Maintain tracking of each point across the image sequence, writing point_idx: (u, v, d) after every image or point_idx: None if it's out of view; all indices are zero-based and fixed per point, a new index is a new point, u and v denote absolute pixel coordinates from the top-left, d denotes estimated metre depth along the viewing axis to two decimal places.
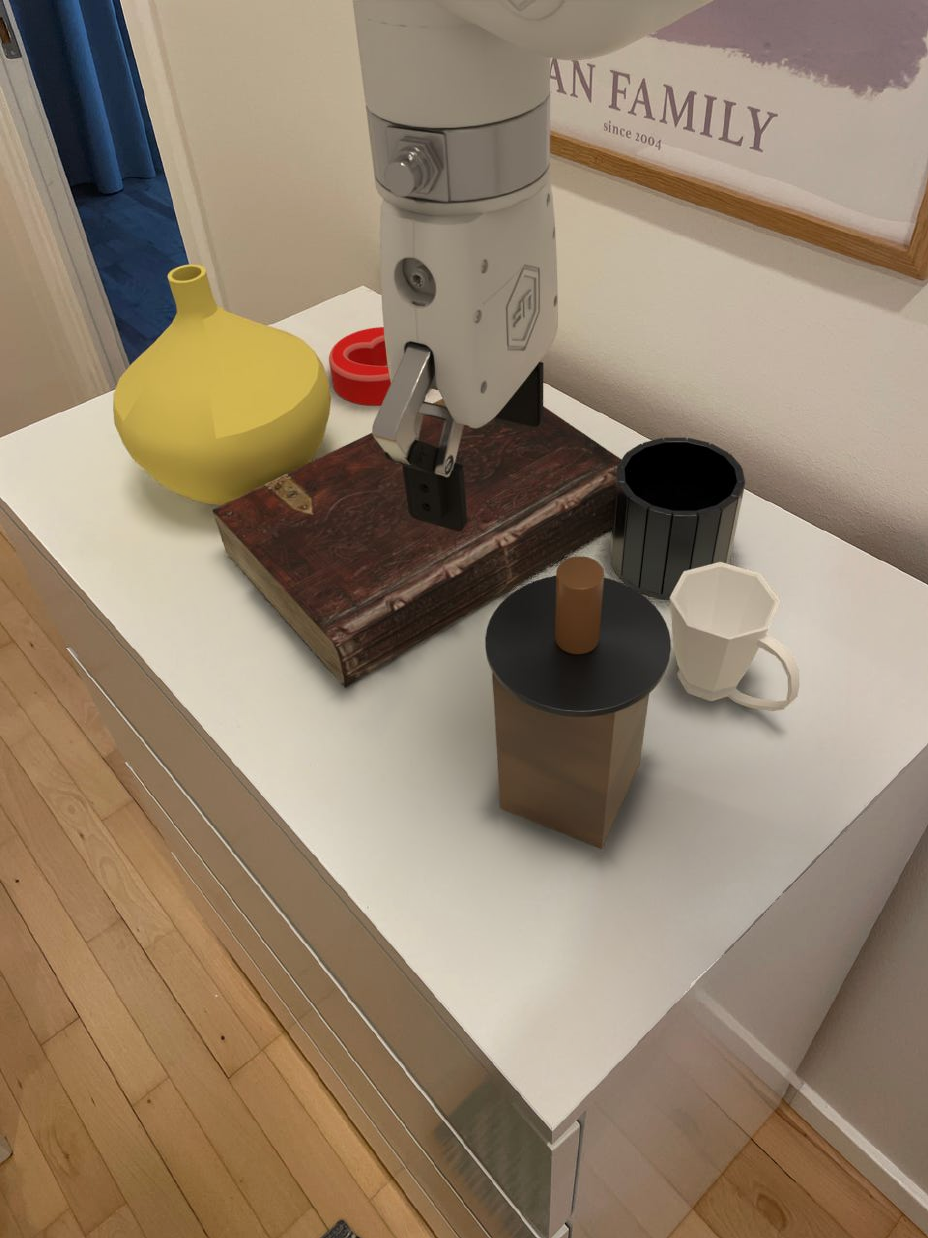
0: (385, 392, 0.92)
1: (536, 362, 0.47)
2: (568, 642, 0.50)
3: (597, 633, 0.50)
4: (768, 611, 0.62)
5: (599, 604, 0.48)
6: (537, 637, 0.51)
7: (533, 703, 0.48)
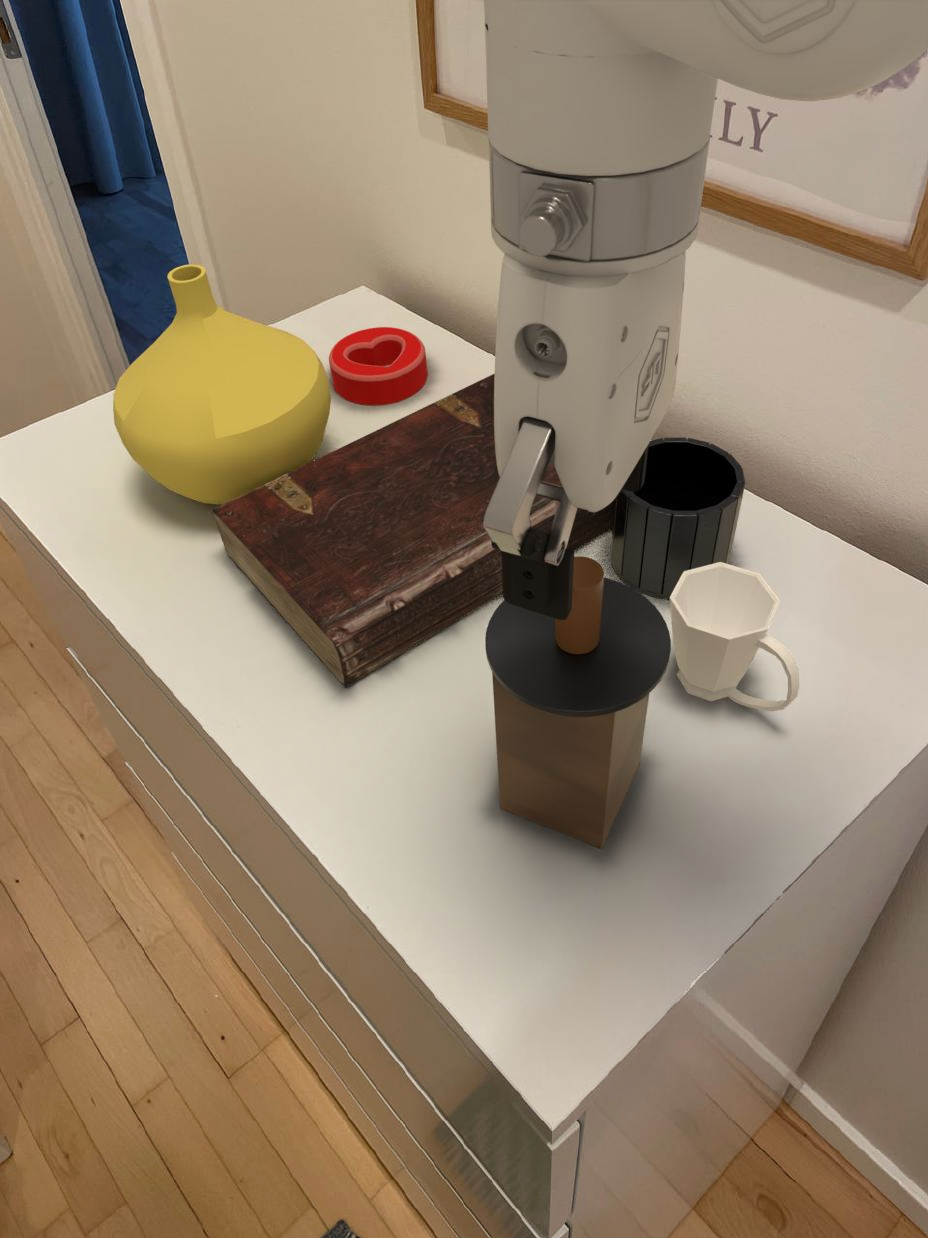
0: (385, 392, 0.92)
1: (654, 430, 0.41)
2: (568, 642, 0.50)
3: (597, 633, 0.50)
4: (768, 611, 0.62)
5: (599, 604, 0.48)
6: (537, 637, 0.51)
7: (533, 703, 0.48)
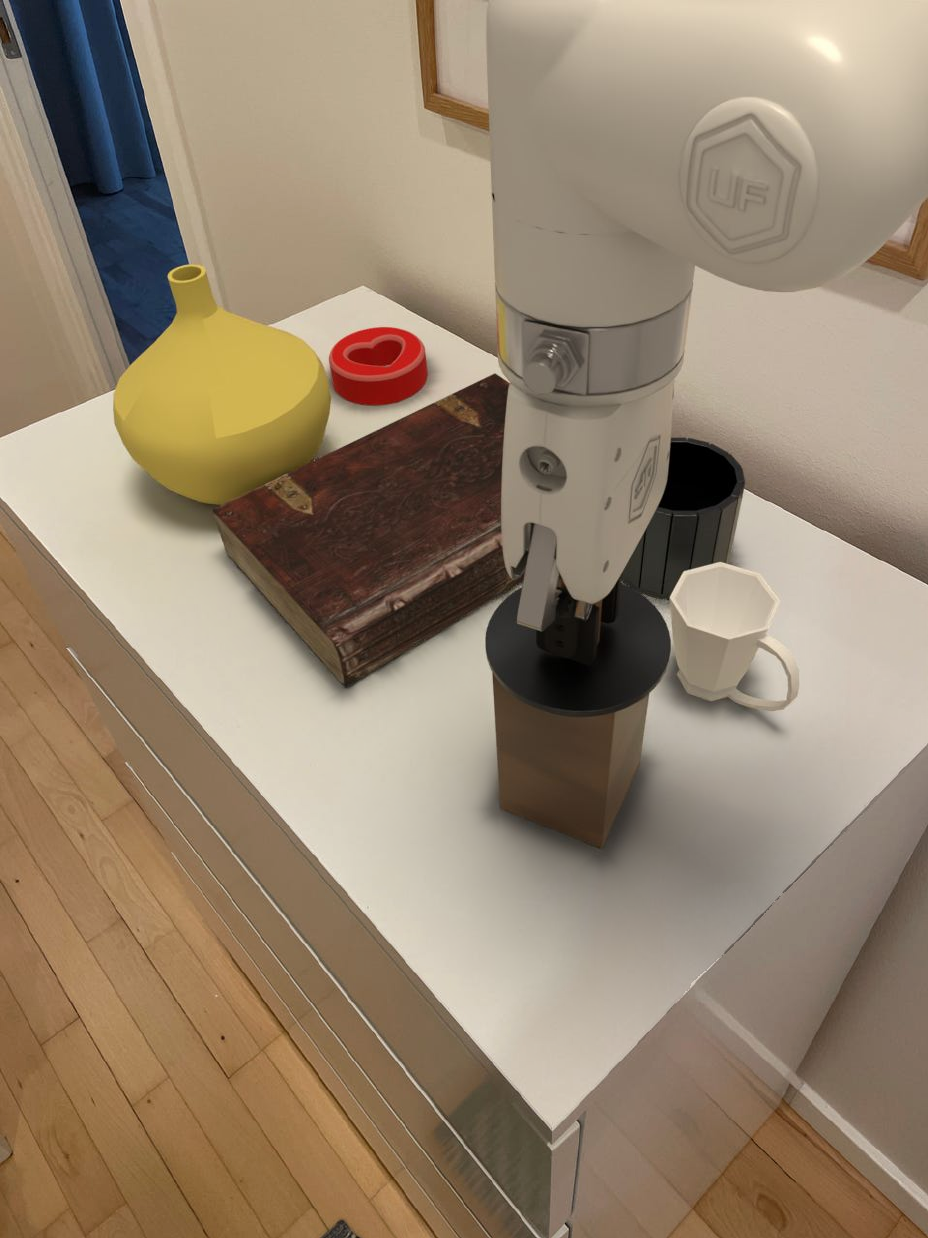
0: (385, 392, 0.92)
1: (648, 521, 0.45)
2: None
3: None
4: (768, 611, 0.62)
5: (599, 604, 0.48)
6: None
7: (533, 703, 0.48)
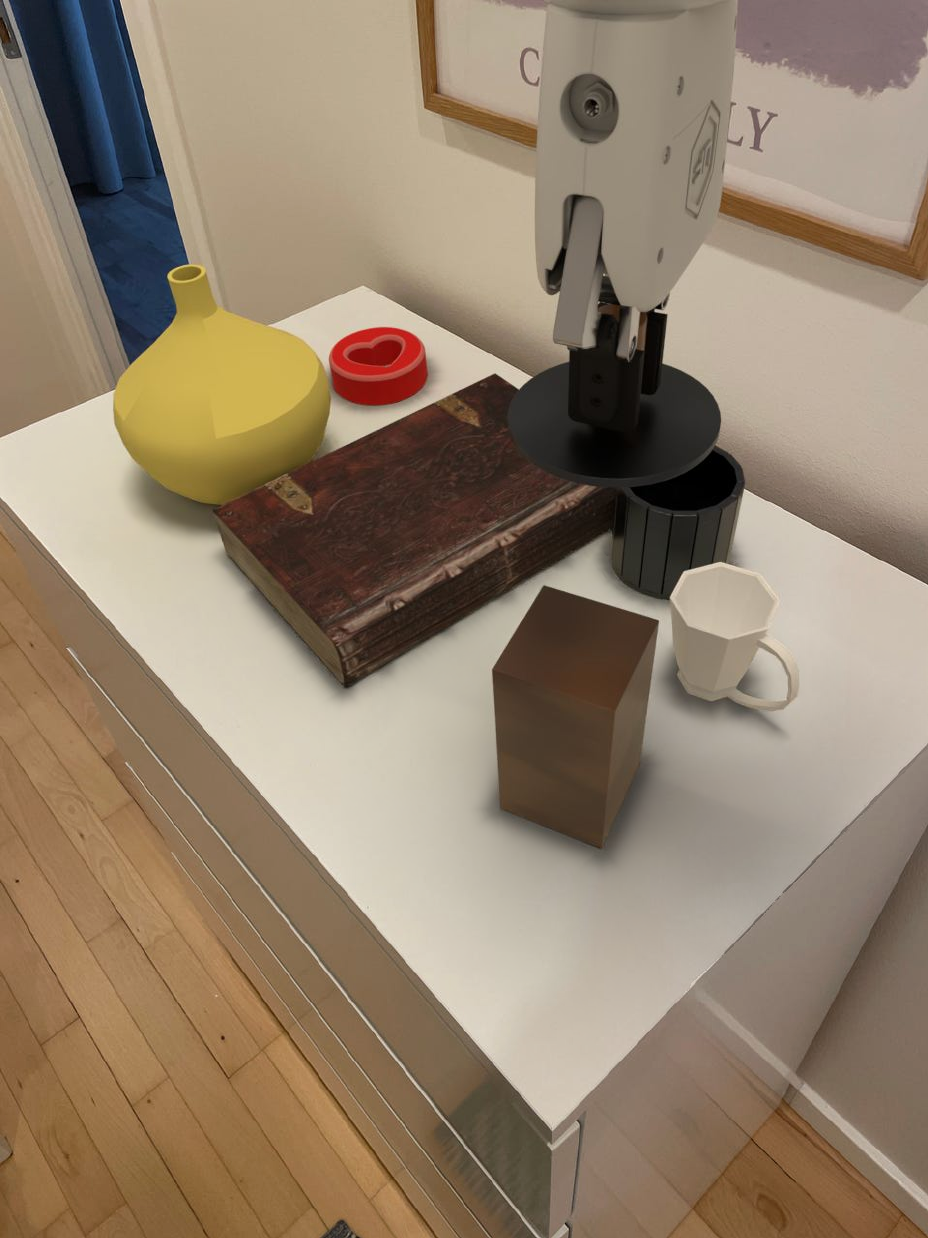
0: (385, 392, 0.92)
1: (701, 240, 0.39)
2: None
3: None
4: (768, 611, 0.62)
5: None
6: (567, 413, 0.45)
7: (566, 474, 0.42)
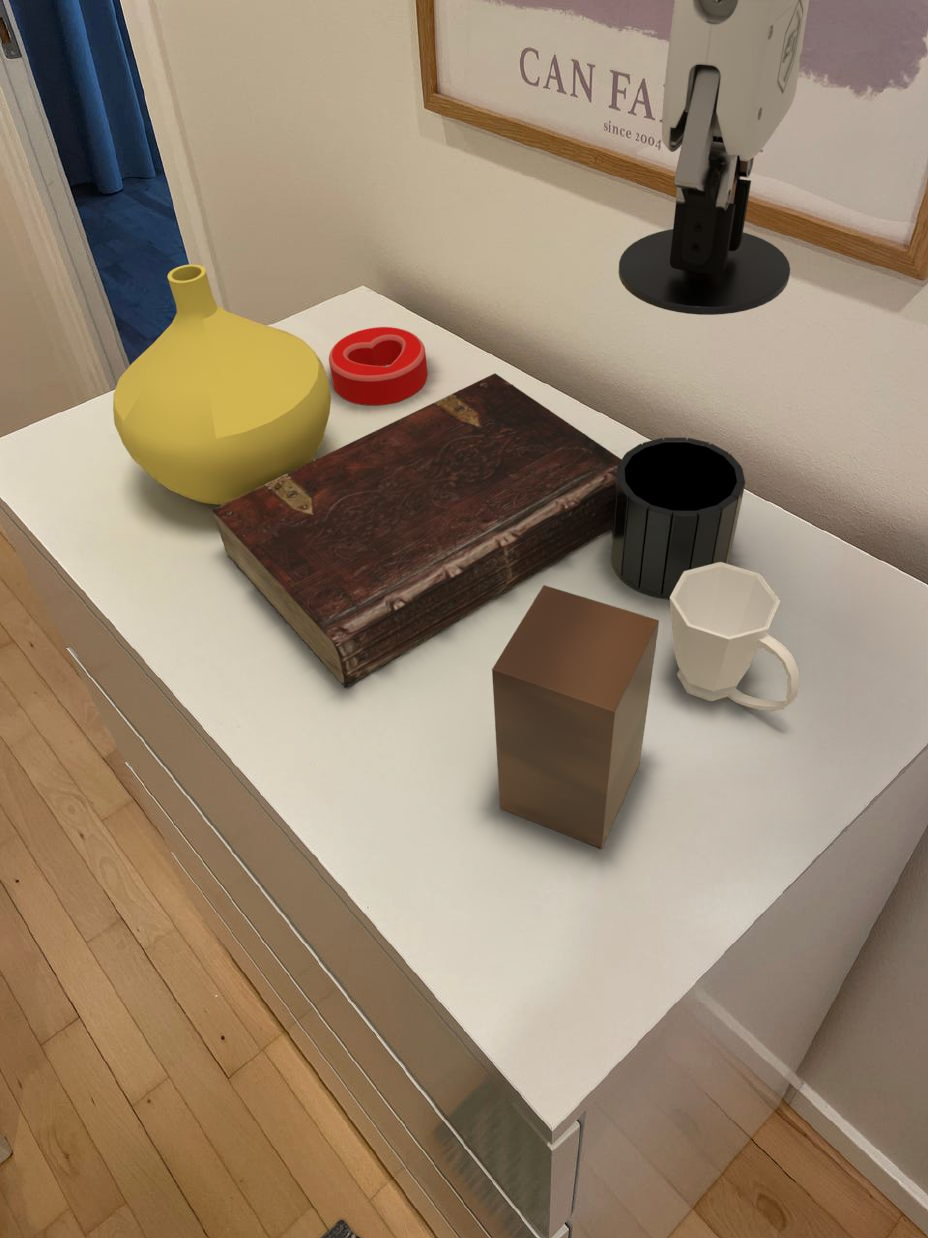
0: (385, 392, 0.92)
1: (783, 115, 0.50)
2: None
3: None
4: (768, 611, 0.62)
5: None
6: (666, 264, 0.57)
7: (670, 304, 0.54)
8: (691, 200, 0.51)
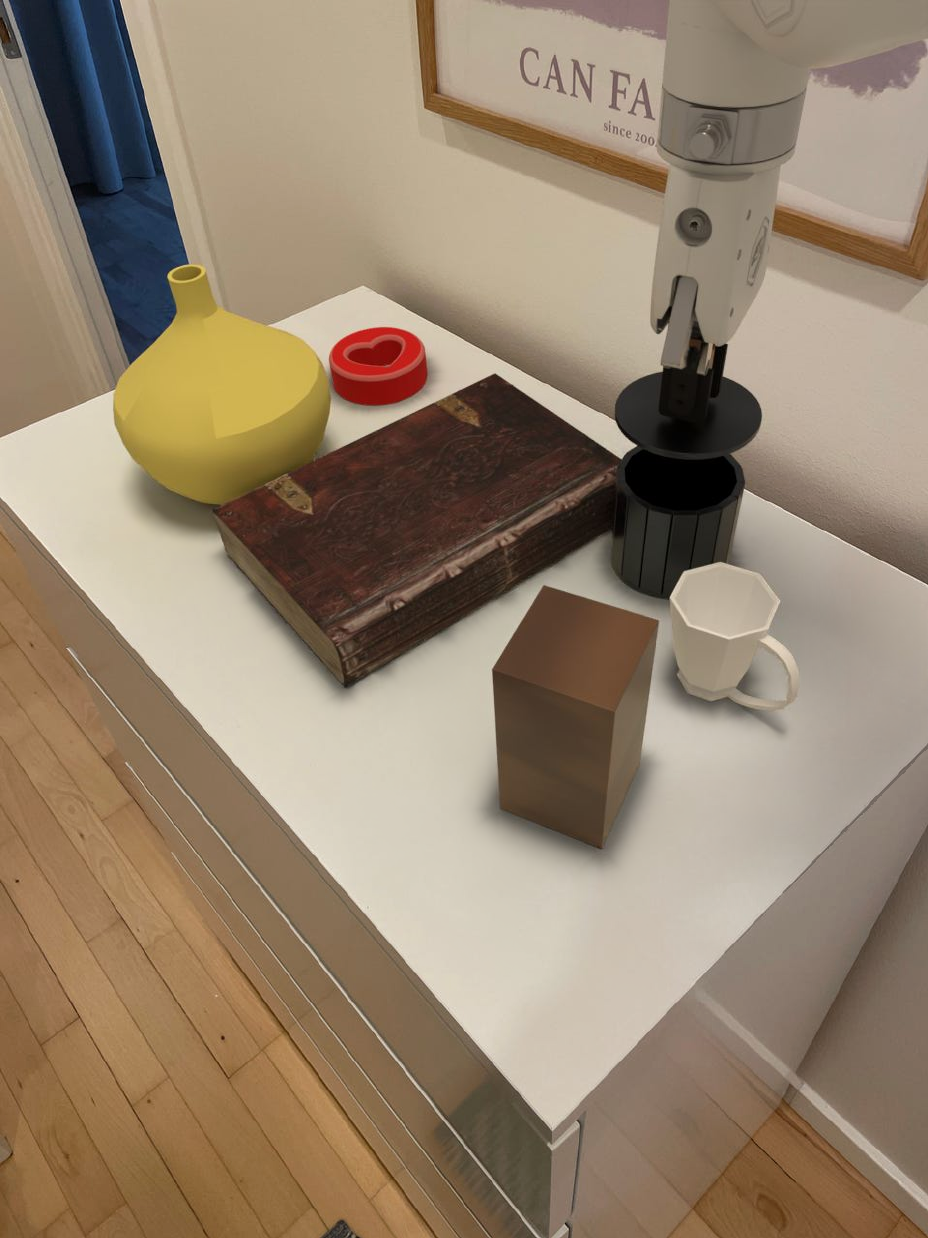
0: (385, 392, 0.92)
1: (754, 298, 0.59)
2: None
3: None
4: (768, 611, 0.62)
5: None
6: (655, 409, 0.66)
7: (658, 450, 0.63)
8: (676, 368, 0.60)
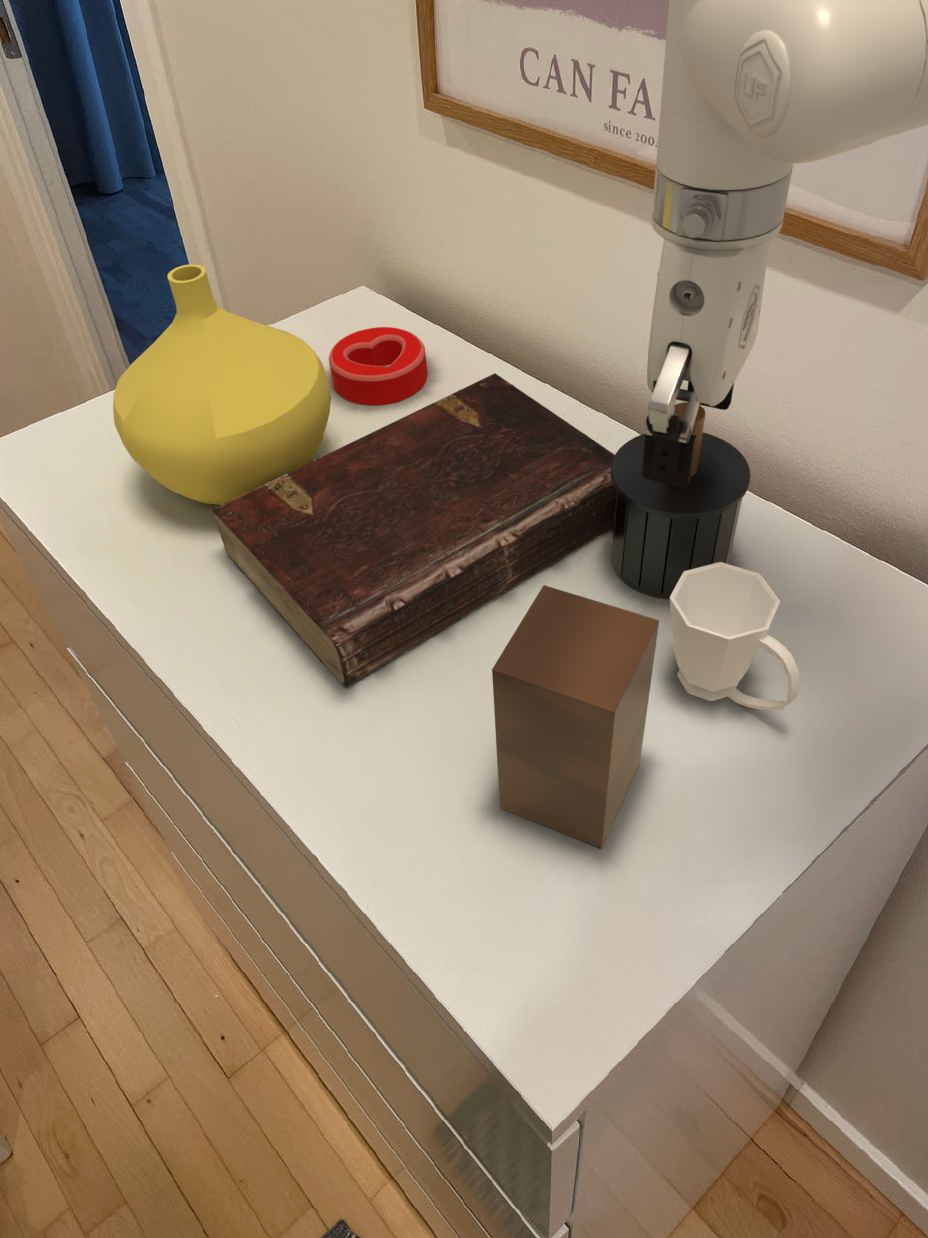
0: (385, 392, 0.92)
1: (746, 357, 0.62)
2: None
3: (697, 462, 0.68)
4: (768, 611, 0.62)
5: (700, 437, 0.66)
6: None
7: (652, 509, 0.66)
8: (657, 435, 0.60)
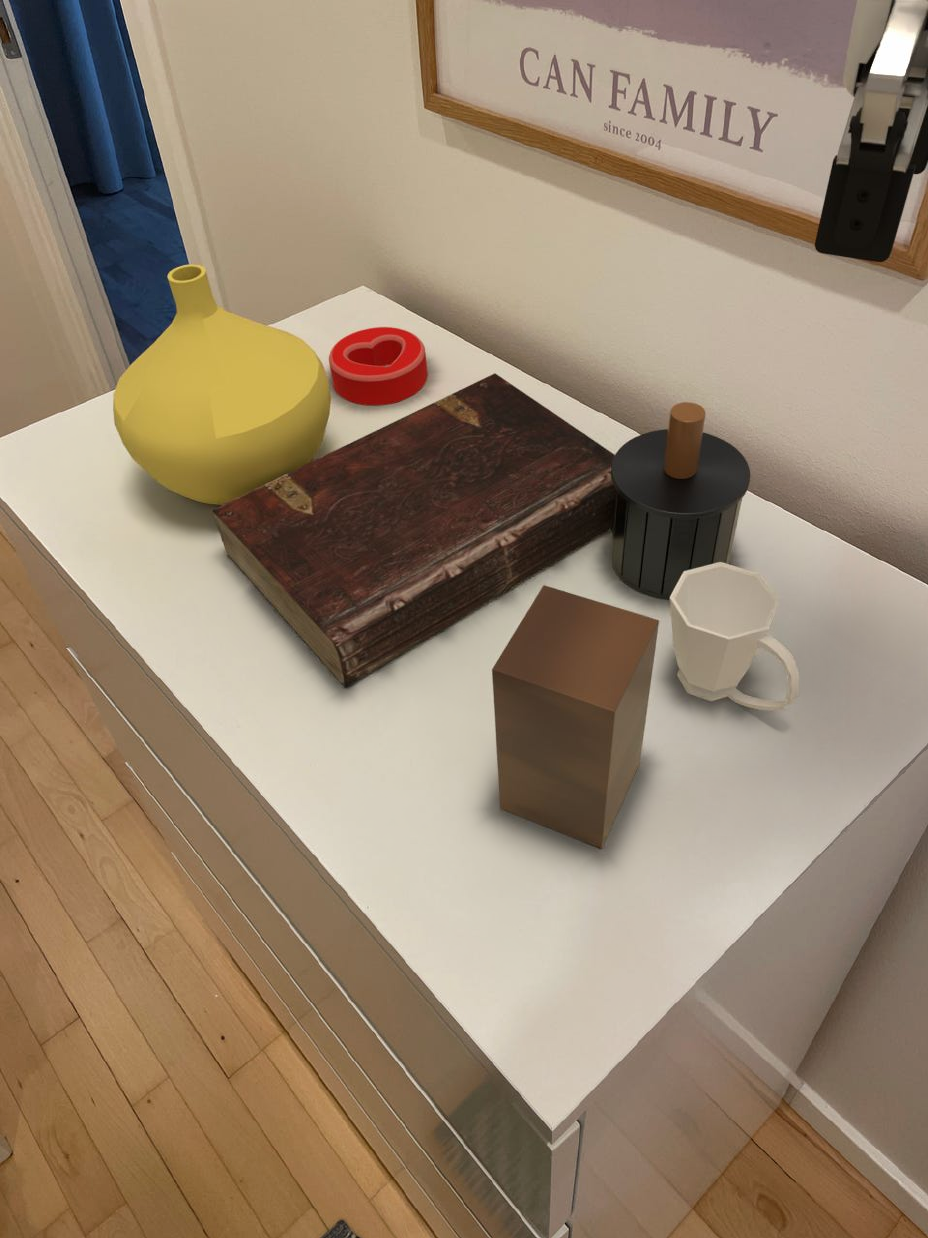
0: (385, 392, 0.92)
1: None
2: (675, 469, 0.68)
3: (697, 462, 0.68)
4: (768, 611, 0.62)
5: (700, 437, 0.66)
6: (649, 469, 0.69)
7: (652, 509, 0.66)
8: (860, 159, 0.38)
